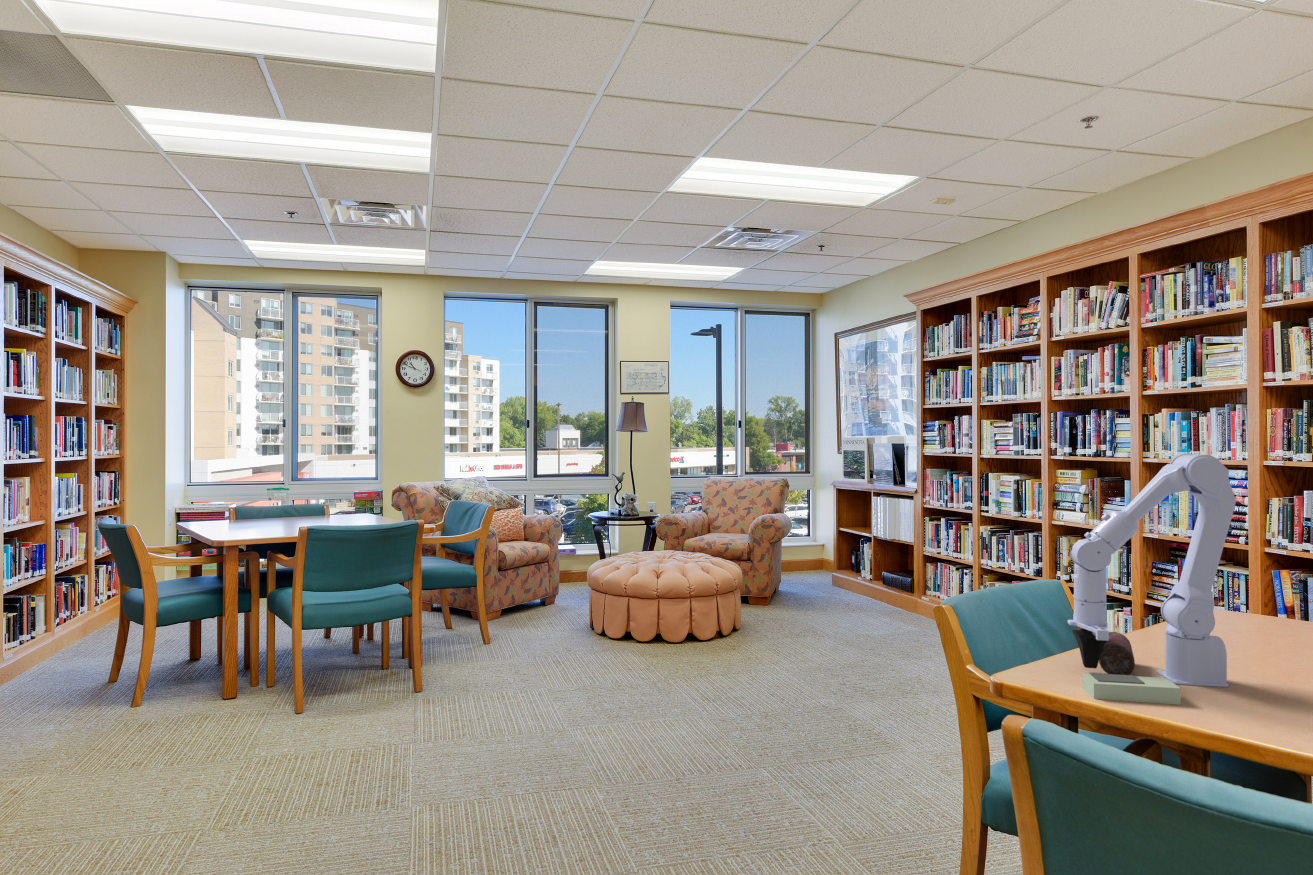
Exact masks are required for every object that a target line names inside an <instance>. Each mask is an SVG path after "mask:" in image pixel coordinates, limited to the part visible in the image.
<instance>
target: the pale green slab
mask: <svg viewBox="0 0 1313 875" xmlns="http://www.w3.org/2000/svg"><path fill="white" fill-rule="evenodd" d="M1082 690H1084V691H1085V693H1087V694H1088V695H1089V696H1090V697H1091V698H1093V699H1094V700H1104V699H1105V700H1104V701H1106V700H1108V701H1119V700H1121V701H1122V700H1123V702H1134V703H1136V702H1137V703H1150V704H1151V703H1152V704H1165V705H1182V704H1181V702H1182V700H1181V696H1182V694H1181V693H1182V692H1181V690H1182V689H1181V687H1179V686H1178V684H1174V683H1172V682H1171V681H1169V680H1168V679H1167V678H1164V677H1158V676H1157V677H1155V676H1153V677H1152V676H1140V675H1139V676H1136V675H1131V674H1129V675H1116V674H1108V673H1094V672H1091V673H1090V672H1089V673H1082ZM1135 701H1136V702H1135Z"/></svg>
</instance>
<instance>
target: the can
mask: <svg viewBox="0 0 1313 875" xmlns="http://www.w3.org/2000/svg"><path fill="white" fill-rule="evenodd" d="M1135 661H1136V660H1135V656H1134V652H1133V647H1132V644H1131V642H1130V640H1129V639H1128V637H1127V636H1125V635H1124V634H1122V633H1120V632H1117V631H1109V641H1107V642H1106V643H1105V645H1104V647H1103V649H1102V651H1101V653H1100V655H1099V662H1098V664H1099V665H1100V668H1101V669H1102V670H1103V671H1104V672H1105V674H1116V675H1131V674H1132V672H1133V671H1134V669H1135V664H1136V662H1135Z"/></svg>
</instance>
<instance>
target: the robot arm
mask: <svg viewBox="0 0 1313 875" xmlns="http://www.w3.org/2000/svg"><path fill="white" fill-rule="evenodd" d="M1229 475H1230V470H1229V469H1228V468H1227V467H1226V466H1225V465H1224V464H1223V463H1222V462H1221V460H1220V459H1218V458H1216V457H1215V456H1213V455H1211V454H1192V453H1180V454H1179V455H1176V456H1175V457H1173V458H1172V459H1171V461H1170V462H1169V463H1167V464H1166V465H1164V466H1162V467H1161V469H1159V471H1158V472H1157V474H1156V475H1155V476H1153V478H1152V479H1151V480H1150V481H1149V482H1147V484H1146V485H1145V486H1144V487H1143V488H1142V490H1140V492H1139V493H1137V495H1136V496H1135V497H1134V498H1133V499H1132V500H1131V501H1130V502H1129V503H1128V504H1127V505H1126V506H1125V508H1123V509H1122V510H1113V511H1110V513H1107V512H1105V513H1104V514H1103V515H1102V516H1101V519H1102V521H1101V522H1099V523H1098V524H1097V525H1096V526H1095V527H1094V528H1093V529H1092V530H1091V531H1090V532H1089V531H1087V532H1086V533H1084V534H1083V535H1084V537H1085V538H1083V539H1080V540H1077V541H1076V542H1075V543H1073V545H1072V548H1071V550H1070V551H1069V555H1070V558H1071V560H1072V561H1073V562H1074V571H1073V572H1074V574H1073V614H1072V616H1073V617H1072V619H1067V624H1068V626H1075V627H1078V628H1080V629H1072V634H1073V636H1074V638H1075V640H1076V642H1077V645H1078V648H1079V652H1080V657H1081V660H1082V665H1083V667H1084V668H1086V669H1097V668H1098V664H1099V655H1100V653H1101V651H1102V649H1103V647H1104V645H1105V643H1106V642H1107V641H1109V632H1110V631H1109V630H1108V628H1109V625H1108V624H1109V623H1108V622H1107V607H1108V606H1107V570H1106V569H1107V567H1108V566H1109V565H1110V564H1111V563H1112V562H1111V561H1112V555H1114V554H1115V553H1117V551H1118V550H1120V548H1122V547H1123V546H1124V545H1125V544H1126V543H1127V541H1129V540H1130V539H1131V538H1133V536H1134V535H1135V534H1137V533H1138V531H1139V530H1138V529H1139V528H1138V525H1139V524H1138V523H1139V521H1140V520H1141V519H1143V518H1144V517H1145V516H1147V514H1148V513H1150V512H1151V511H1152V510H1153V509H1154V508H1155V507H1157V506H1158V505H1159V503H1161V502H1162V501H1164V500H1165V499H1166V498H1167V497H1168V496H1170V495H1171V494H1176V493H1181V492H1186V491H1189V493H1191V495H1192V496H1193V497H1194V499H1195V500H1196V501H1197V503H1199V504H1200V505H1199V508H1198V509H1199V510H1198V514H1197V517H1196V521H1195V524H1194V528H1193V531H1192V535H1191V539H1190V542H1189V546H1188V549H1187V553H1186V556H1185V558H1184V559H1185V560H1184V564H1183V567H1182V571H1181V575H1180V578H1179V581H1178V582H1177V583H1176V584H1175V585H1174V586H1173V587H1172V588H1171V590H1170V591H1171V592H1170V594H1169V596H1168V597H1167V598H1166V599H1165V600H1164V601H1163V602H1162V604H1161V607H1160V614H1161V616H1162V619H1163V620H1164V621H1165V622H1166V623H1167V625H1166V627H1165V629H1164V631H1165V632H1164V641H1165V642H1164V643H1165V644H1164V651H1165V653H1164V654H1165V655H1164V656H1165V657H1164V659H1165V660H1164V662H1165V663H1164V664H1165V665H1164V666H1165V667H1164V668H1165V670H1164V669H1157V670H1156V673H1157V674H1159V675H1160V676H1161V677H1162V678H1167V679H1168V680H1169V681H1171V682H1172V683H1174V684H1175V685H1177V686H1178V685H1179V686H1180V685H1181V686H1198V687H1220V688H1229V685H1230V684H1229V683H1228V682H1227V680H1228V677H1227V676H1228V670H1227V668H1228V667H1227V666H1228V664H1227V663H1228V661H1227V660H1228V659H1227V658H1228V656H1227V648H1226V645H1225V643H1224V640H1223V639H1222V638H1221V637H1220V636H1217V635H1211V633H1212V632H1213V631H1214V629H1215V626H1216V619H1215V615H1214V608H1215V604H1216V603H1215V599H1214V595H1213V592H1212V589H1213V585H1214V582H1215V581H1214V580H1215V578H1216V575H1217V571H1218V568H1219V564H1220V561H1221V557H1222V553H1223V550H1224V547H1225V542H1226V539H1227V536H1228V532H1229V529H1230V525H1231V521H1232V518H1233V515H1234V512H1235V507H1236V502H1237V500H1236V497H1235V494H1234V491H1233V488H1232V485H1231V482H1230V479H1229V478H1230V477H1229Z"/></svg>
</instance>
